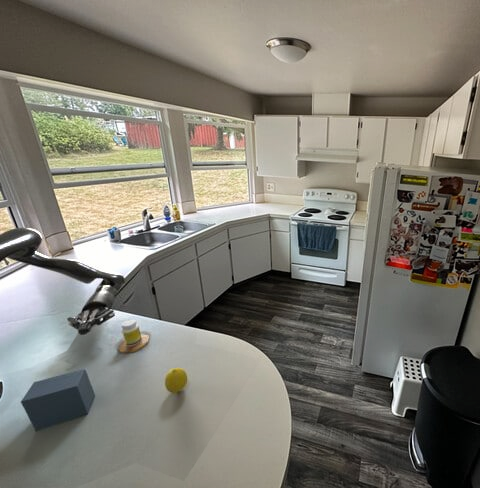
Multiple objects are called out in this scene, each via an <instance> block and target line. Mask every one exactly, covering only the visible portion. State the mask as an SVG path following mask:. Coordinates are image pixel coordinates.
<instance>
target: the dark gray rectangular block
mask: <svg viewBox="0 0 480 488" xmlns="http://www.w3.org/2000/svg"><path fill="white" fill-rule="evenodd" d="M95 397H96V394H95V391H94V389H93V386H92V383H91V381H90V378H89V375H88V372H87V370H86V368H83V369H79V370H75V371H72V372H67V373H64V374H60V375H55V376H52V377H47V378H43V379H41V380H37V381H33V383H32V384H31V385H30V387H29V389H28V391H27V392H26V393H25V394H24V396H23V398H21V400H20V403H21V405H22V407H23V409H24V411H25V414H26V415H27V417H28V419H29V421H30V423H31V425H32V427H33V429H34V431H35V432H37V431H41V430H44V429H46V428H50V427H52V426H56V425H59V424H62V423H65V422H68V421H71V420H74V419H77V418H80V417H84V416H87V415H89V413H90V411H91V409H92V405H93V403H94V401H95Z"/></svg>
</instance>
